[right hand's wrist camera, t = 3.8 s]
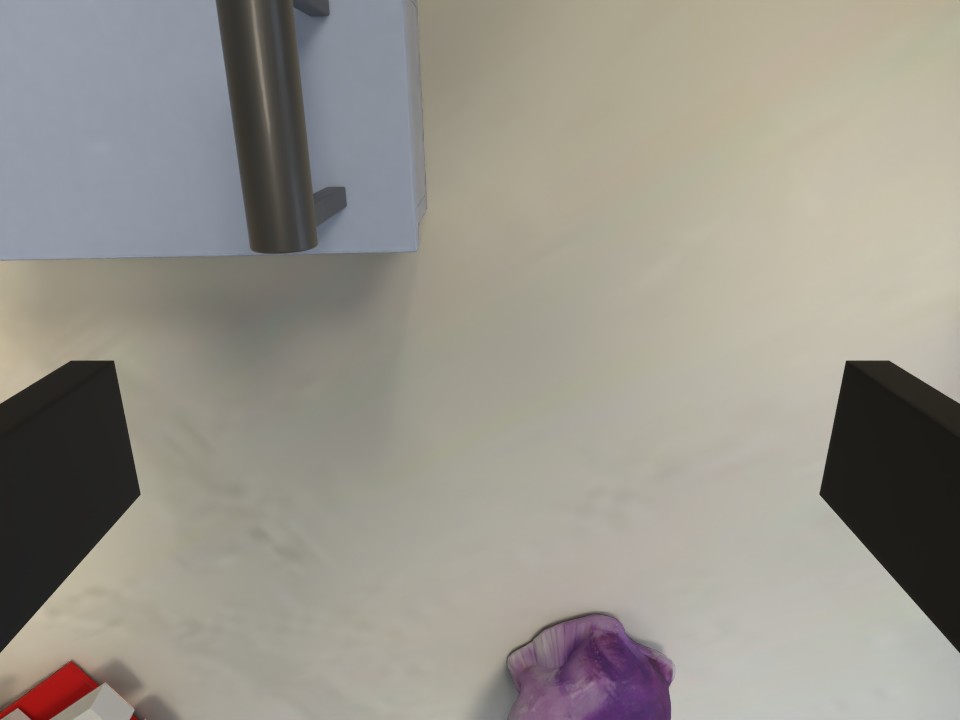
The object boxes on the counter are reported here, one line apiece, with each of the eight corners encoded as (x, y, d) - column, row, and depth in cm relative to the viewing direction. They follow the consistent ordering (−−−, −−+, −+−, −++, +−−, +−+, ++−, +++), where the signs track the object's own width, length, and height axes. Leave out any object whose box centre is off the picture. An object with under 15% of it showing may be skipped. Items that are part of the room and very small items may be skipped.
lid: (403, -61, 22) (354, -167, 14) (419, 245, 26) (388, 311, 17) (-138, -47, 23) (-512, -143, 14) (-49, 255, 26) (-306, 325, 18)
